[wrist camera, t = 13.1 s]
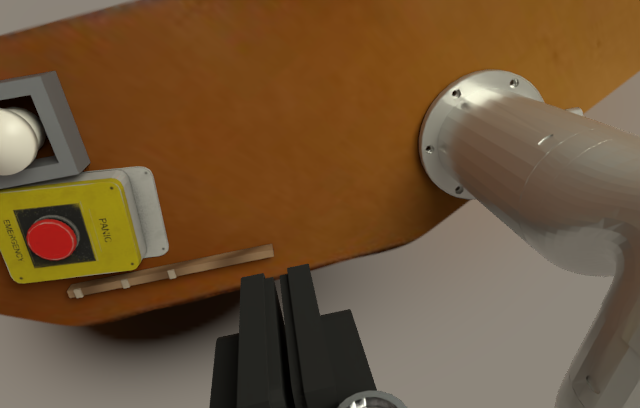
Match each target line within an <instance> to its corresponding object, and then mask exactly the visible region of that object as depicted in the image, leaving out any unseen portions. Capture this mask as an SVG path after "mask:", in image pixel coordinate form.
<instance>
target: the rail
mask: <svg viewBox="0 0 640 408" xmlns="http://www.w3.org/2000/svg"><path fill="white" fill-rule="evenodd" d="M273 256H274V251H273V246H272V244H268V245H263V246H258V247H253V248H248V249H243V250H238V251H233V252H228V253H224V254H219V255H214V256H209V257H204V258H199V259H194V260H189V261H184V262H179V263H174V264H169V265H165V266H160V267H155V268H150V269H145V270H140V271H135V272H130V273H125V274H120V275H115V276H111V277H106V278H101V279H96V280H91V281H86V282H81V283H76V284H71V286H70V287H69V289H68V290H67V293H68V295H69V297H70V298H74V297H76V298H81V297H83V296H84V295H88V294H93V293H98V292H103V291H108V290H112V289H117V288H122V287H123V288H124V289H125V288H130V286H132V285H137V284H142V283H147V282H151V281H156V280H161V279H166V278H170V279H173V278H176V276H181V275H186V274H190V273H195V272H200V271H205V270H210V269H215V268H220V267H225V266H229V265H234V264H239V263H244V262H249V261H254V260H259V259H264V258H268V257H273Z"/></svg>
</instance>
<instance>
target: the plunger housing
mask: <svg viewBox="0 0 640 408" xmlns="http://www.w3.org/2000/svg"><path fill="white" fill-rule="evenodd" d="M27 95H31V97H32V100H33V102H34V105H35V107H36V109H37V112H38V114H39V117H40V119H41V121H42V124H43V126H44V129H45V131H46V133H47V136H48V138H49V141H50V143H51V146H52V148H53V150H54V153H55V156H49V157H44V158H39V159H34V161H33V162H32V163H31V164H30V165H28V166H27V167H26V168H24V169H23V170H22V171H20V172H18V173H15V174H12V175H0V189H3V188H8V187H13V186H19V185H24V184H29V183H34V182H40V181H45V180H50V179H56V178H61V177H66V176H71V175H77V174H80V173H81V172H82V171H83V170H84V169H85V168H86V167H87V166H88V165H89V164H90V160H89V157H88V155H87V152H86V150H85V147H84V144H83V142H82V139H81V136H80V134H79V131H78V129H77V126H76V123H75V121H74V118H73V116H72V113H71V110H70V108H69V105H68V103H67V100H66V97H65V95H64V92H63V90H62V87H61V84H60V82H59V79H58V77H57V74H56V71H51V72H45V73H40V74H34V75H28V76H23V77H17V78H11V79H5V80H0V100H4V99H10V98H16V97H21V96H27Z"/></svg>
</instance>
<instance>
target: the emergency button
mask: <svg viewBox="0 0 640 408" xmlns="http://www.w3.org/2000/svg"><path fill="white" fill-rule="evenodd" d="M168 247H169V244H168V240H167V235H166V231H165V226H164V222H163V217H162V213H161V208H160V204H159V199H158V195H157V191H156V186H155V182H154V177H153V174H152V172H151V171H150V170H149V169H147V168H146V167H139V166H137V167H127V168H117V169H107V170H97V171H87V172H81V173H80V174H77V175H71V176H66V177H61V178H56V179H50V180H45V181H40V182H34V183H29V184H24V185H19V186H13V187H8V188H3V189H0V251H1V253H2V256H3V258H4V261H5V263H6V266H7V268H8V271H9V273H10V276H11V277H12V279H13V280H14V281H16V282H17V283H23V284H24V283H32V282H41V281H49V280H57V279H65V278H73V277H81V276H90V275H98V274H106V273H114V272H122V271H130V270H134V269H136V268H137V267H138V266H139V264H140V263H141V261H142V259H143V258H147V257H156V256H161V255H164V254H165V253H166V252H167V251H168Z"/></svg>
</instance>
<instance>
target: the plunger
mask: <svg viewBox="0 0 640 408" xmlns="http://www.w3.org/2000/svg"><path fill="white" fill-rule="evenodd" d="M45 139H46V132H45V129H44V126H43V124H42V122H41V120H40V119H39V118H38V117H37V116H36V115H35V114H34V113H32V112H31V111H29V110H27V109H24V108H21V107H7V108H4V109H3V108H0V175H12V174H15V173H18V172H20V171H22V170H23V169H24V168H26V167H27V166H28V165H30V164H31V163H32V162H33V161H34V159H35V158H36V155H37V152H38V150H39V149H40V148H41V147H42V146H43V144H44V142H45Z"/></svg>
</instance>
